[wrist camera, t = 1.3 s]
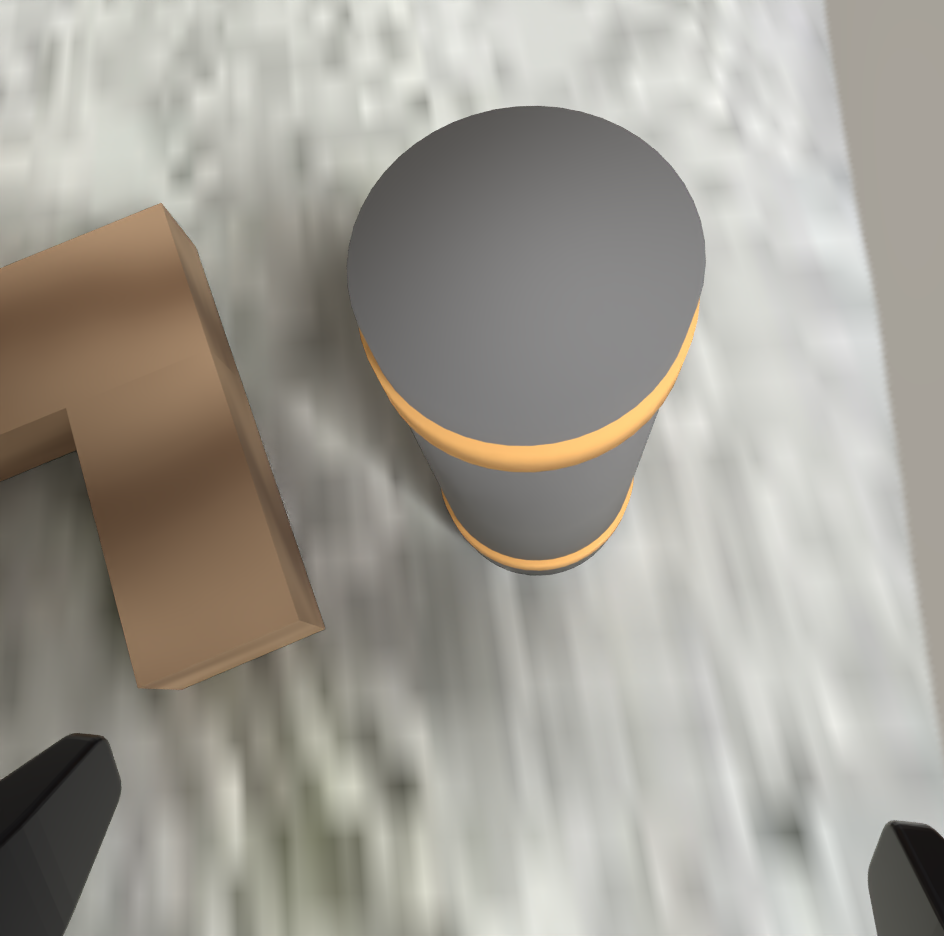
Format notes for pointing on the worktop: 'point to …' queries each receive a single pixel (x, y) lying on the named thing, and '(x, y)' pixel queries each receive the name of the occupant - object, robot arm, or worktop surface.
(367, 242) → the orange banded cylinder
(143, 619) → the tan u-shaped stand
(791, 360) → the worktop surface
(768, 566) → the worktop surface
